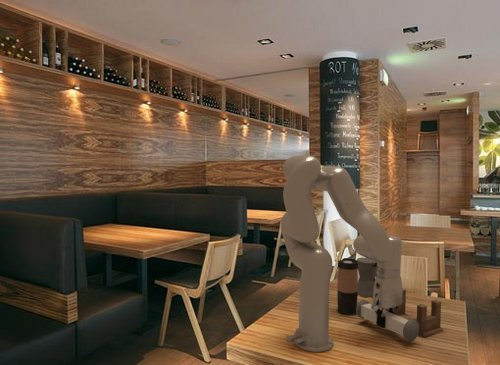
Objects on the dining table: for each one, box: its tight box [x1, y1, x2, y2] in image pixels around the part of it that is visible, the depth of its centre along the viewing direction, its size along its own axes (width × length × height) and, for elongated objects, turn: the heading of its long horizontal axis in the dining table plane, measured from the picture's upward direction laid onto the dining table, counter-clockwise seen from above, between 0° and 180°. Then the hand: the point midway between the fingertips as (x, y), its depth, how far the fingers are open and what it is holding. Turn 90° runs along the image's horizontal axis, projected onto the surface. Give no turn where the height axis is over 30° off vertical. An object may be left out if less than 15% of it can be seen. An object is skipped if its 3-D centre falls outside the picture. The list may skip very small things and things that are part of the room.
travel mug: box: [336, 258, 359, 316], centre depth 145 cm, size 8×8×20 cm
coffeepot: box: [356, 257, 377, 298], centre depth 164 cm, size 15×9×18 cm, turn 17°
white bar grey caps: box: [355, 299, 419, 342], centre depth 127 cm, size 21×6×6 cm, turn 31°
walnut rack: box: [386, 288, 444, 339], centre depth 134 cm, size 18×10×10 cm, turn 31°
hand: (385, 325), depth 128 cm, fingers closed on white bar grey caps, 4 cm apart
